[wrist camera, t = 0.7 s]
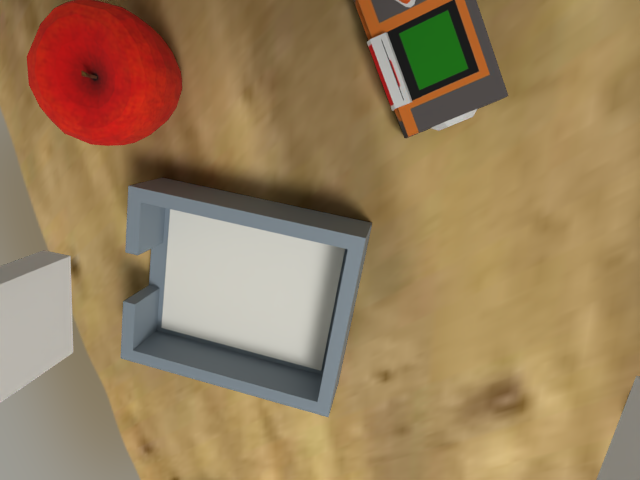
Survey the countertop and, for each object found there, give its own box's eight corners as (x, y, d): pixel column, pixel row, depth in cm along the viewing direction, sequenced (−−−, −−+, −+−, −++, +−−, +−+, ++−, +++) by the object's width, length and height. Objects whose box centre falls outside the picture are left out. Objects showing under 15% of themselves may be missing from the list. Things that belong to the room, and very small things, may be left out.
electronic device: (424, -157, 25) (511, 101, 27) (424, -127, 28) (503, 104, 30) (316, -92, 27) (403, 144, 29) (326, -71, 30) (405, 144, 32)
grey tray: (162, 177, 36) (128, 185, 32) (372, 222, 34) (365, 238, 29) (151, 332, 40) (120, 358, 36) (338, 383, 38) (328, 417, 33)
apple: (122, 155, 36) (47, 165, 29) (81, 42, 35) (-11, 21, 27) (221, 124, 34) (166, 126, 27) (182, 1, 32) (113, -34, 25)
